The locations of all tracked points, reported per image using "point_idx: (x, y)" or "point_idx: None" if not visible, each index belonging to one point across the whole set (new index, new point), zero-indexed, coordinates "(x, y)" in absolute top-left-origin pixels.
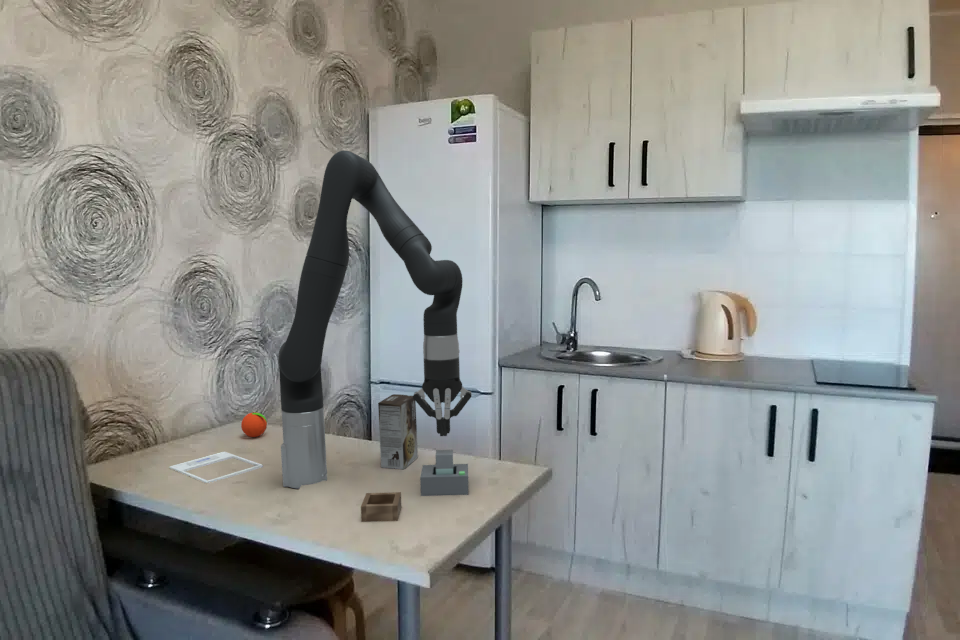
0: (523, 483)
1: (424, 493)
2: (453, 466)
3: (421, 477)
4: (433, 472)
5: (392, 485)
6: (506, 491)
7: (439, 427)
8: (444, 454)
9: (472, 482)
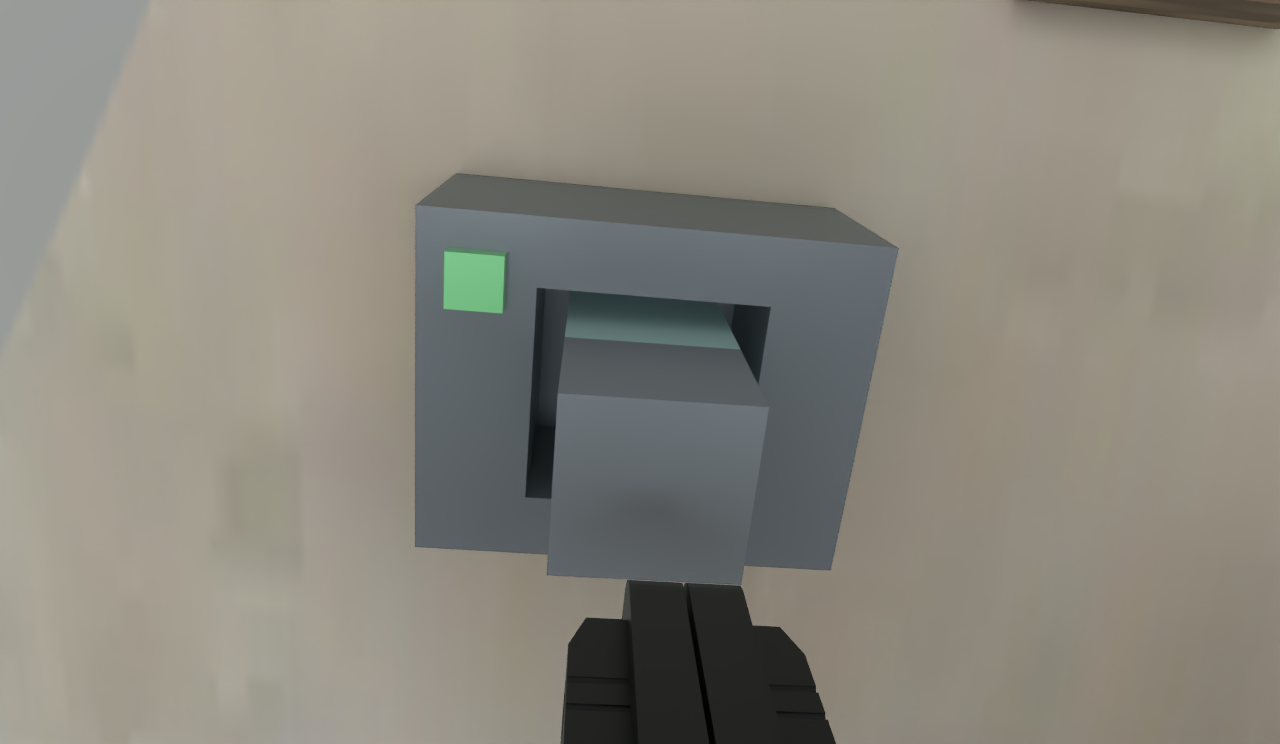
0: (13, 437)
1: (819, 214)
2: None
3: (885, 246)
4: None
5: (997, 527)
6: (143, 293)
7: (768, 704)
8: (657, 419)
9: None
